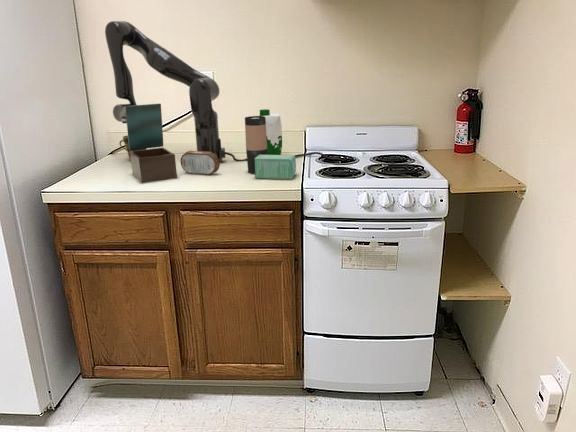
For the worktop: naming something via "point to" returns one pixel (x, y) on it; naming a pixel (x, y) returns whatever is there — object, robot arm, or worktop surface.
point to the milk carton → (273, 132)
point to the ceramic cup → (127, 145)
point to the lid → (144, 126)
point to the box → (275, 166)
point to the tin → (200, 162)
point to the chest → (153, 165)
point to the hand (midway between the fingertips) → (143, 120)
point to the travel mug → (255, 139)
